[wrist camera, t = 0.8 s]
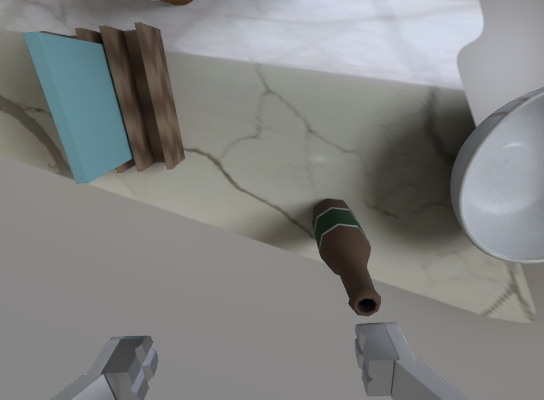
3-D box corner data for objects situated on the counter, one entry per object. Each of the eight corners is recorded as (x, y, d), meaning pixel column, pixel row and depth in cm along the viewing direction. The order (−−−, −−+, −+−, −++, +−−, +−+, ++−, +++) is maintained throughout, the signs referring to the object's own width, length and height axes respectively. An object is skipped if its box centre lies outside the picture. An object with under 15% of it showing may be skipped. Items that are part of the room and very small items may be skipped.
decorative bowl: (478, 49, 44) (546, 40, 33) (620, 111, 47) (725, 121, 36) (392, 201, 54) (422, 233, 43) (513, 244, 57) (570, 284, 46)
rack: (70, 37, 45) (38, 31, 39) (159, 29, 44) (141, 22, 38) (108, 163, 52) (86, 174, 46) (185, 158, 52) (172, 169, 46)
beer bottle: (316, 237, 57) (339, 337, 35) (306, 202, 55) (326, 287, 32) (355, 227, 56) (404, 324, 34) (347, 192, 54) (397, 272, 31)
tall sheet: (108, 48, 44) (22, 33, 29) (118, 47, 44) (37, 31, 29) (136, 152, 50) (76, 183, 35) (144, 151, 50) (88, 183, 35)
